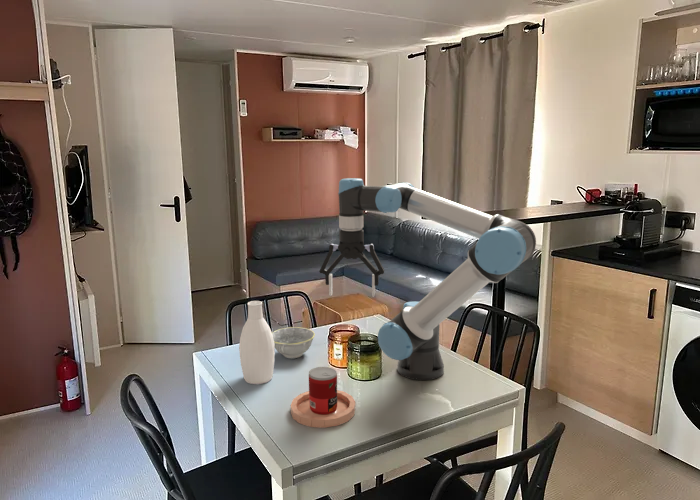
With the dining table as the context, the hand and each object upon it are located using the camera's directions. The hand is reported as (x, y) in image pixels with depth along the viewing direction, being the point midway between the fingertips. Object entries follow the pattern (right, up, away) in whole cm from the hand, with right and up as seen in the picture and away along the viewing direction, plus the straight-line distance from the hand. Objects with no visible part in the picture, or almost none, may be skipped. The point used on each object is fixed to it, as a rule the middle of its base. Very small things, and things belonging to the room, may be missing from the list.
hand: (352, 295), depth 170 cm
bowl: (-21, -23, +22) cm, 38 cm away
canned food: (-8, -31, -18) cm, 37 cm away
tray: (-8, -31, -18) cm, 37 cm away
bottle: (-30, -27, +3) cm, 41 cm away
